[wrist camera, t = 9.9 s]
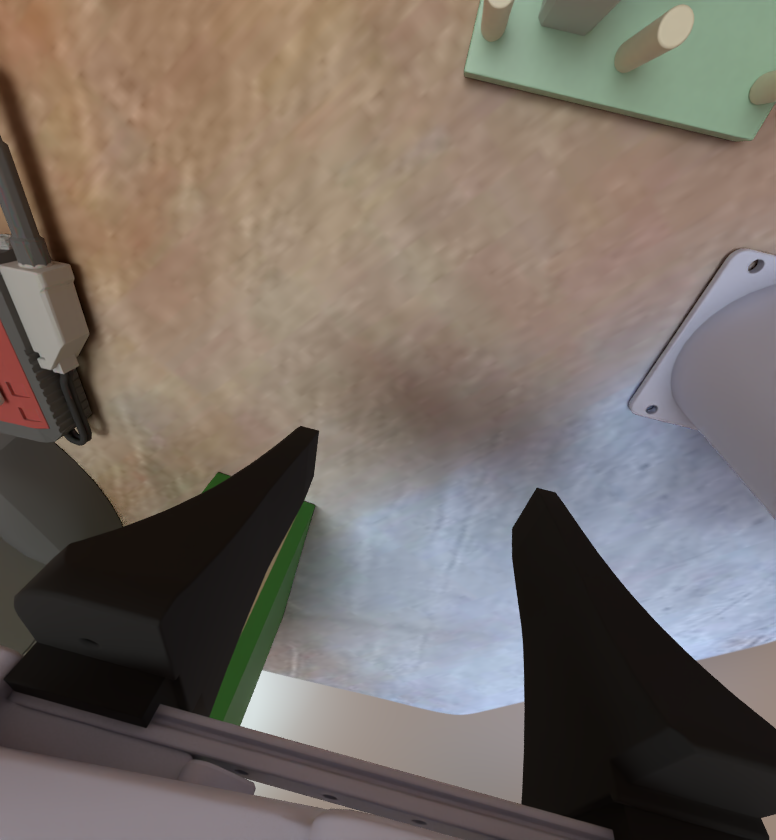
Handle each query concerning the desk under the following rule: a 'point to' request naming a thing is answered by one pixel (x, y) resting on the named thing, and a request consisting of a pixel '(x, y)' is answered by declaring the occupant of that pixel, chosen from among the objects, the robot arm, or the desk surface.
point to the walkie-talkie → (37, 328)
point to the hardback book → (260, 620)
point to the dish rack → (641, 60)
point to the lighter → (574, 14)
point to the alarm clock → (40, 520)
